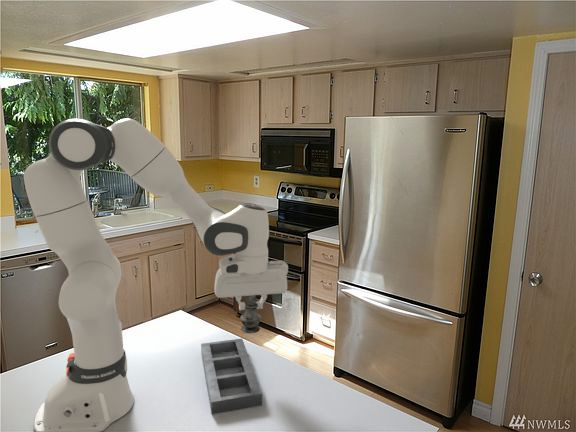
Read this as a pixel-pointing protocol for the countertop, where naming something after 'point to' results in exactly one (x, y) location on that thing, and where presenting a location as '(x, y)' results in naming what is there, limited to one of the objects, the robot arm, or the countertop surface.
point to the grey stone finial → (250, 316)
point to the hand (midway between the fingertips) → (250, 308)
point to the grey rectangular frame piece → (230, 376)
